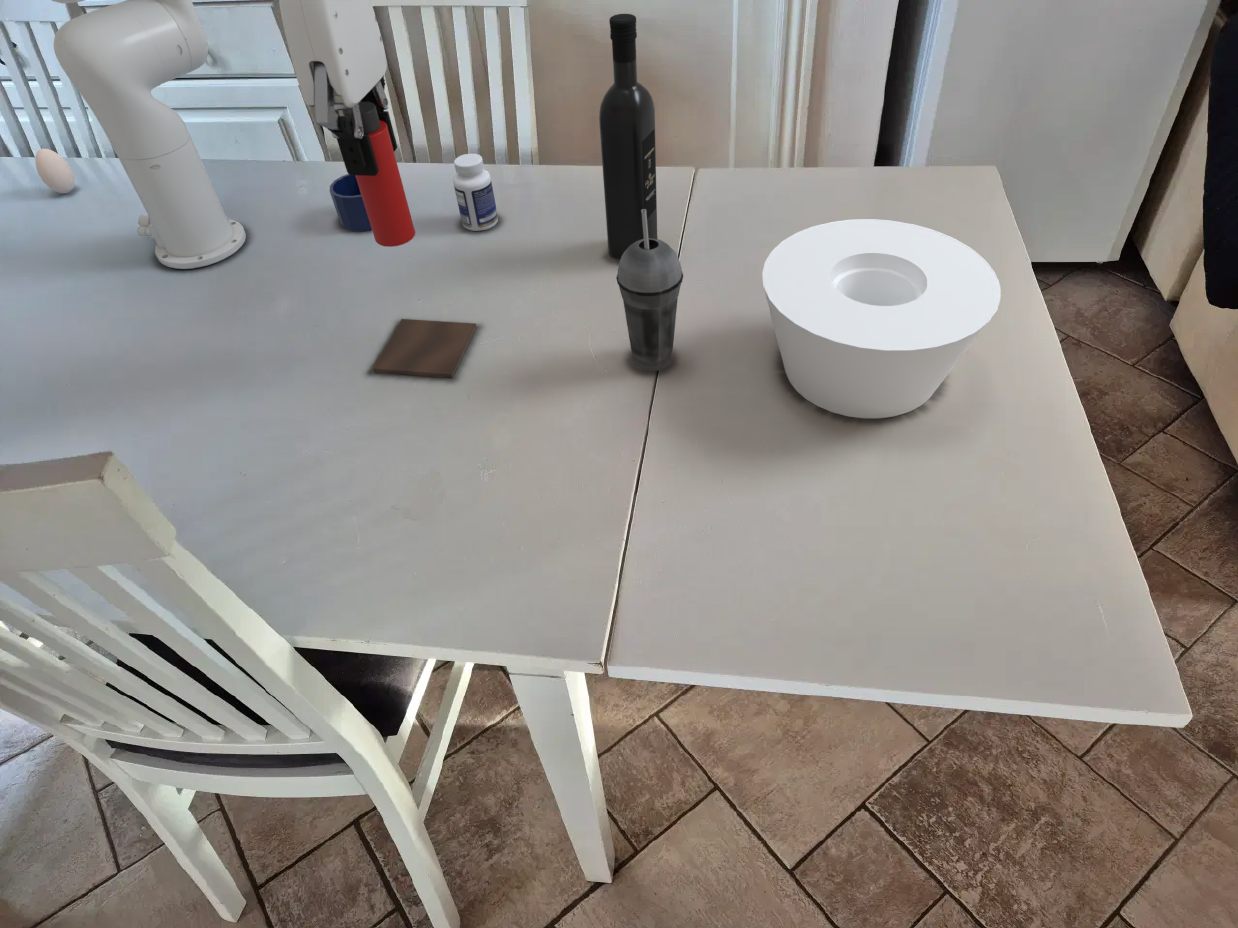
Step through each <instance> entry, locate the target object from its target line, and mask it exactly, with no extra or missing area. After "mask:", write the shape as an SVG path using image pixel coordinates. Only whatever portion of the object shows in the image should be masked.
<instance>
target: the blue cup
mask: <svg viewBox="0 0 1238 928" xmlns="http://www.w3.org/2000/svg"><path fill="white" fill-rule="evenodd" d="M329 194H330V197H331V199H332V202H333V206H334V209H335V212H336V215H337V218H338V220H339V223H340V225H341V226H342V228H344V229H345V230H347V231H351V232H369V231H372V228H371V225H370V222H369V218H368V215H367V212H366V209H365V205H364V202H363V199H362V196H361V192H360V189H359V186H358V182H357V179H356V176H355V175H350V174H348V173H347V174H344V175H341V176H340V177H338V178H336V179H335V180H333V181H332V183H331V184H329Z"/></svg>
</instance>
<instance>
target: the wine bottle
mask: <svg viewBox="0 0 1238 928" xmlns="http://www.w3.org/2000/svg"><path fill="white" fill-rule="evenodd" d="M608 23H609V29H610V31H609V32H610V34H609V37H610V40H611V48H612V49H611V50H612V69H613V70H612V71H613V84H612V85H610V87H609V88H608V89H607V91H606V92H605V94H604V95H603V98H602V100H601V103H600V107H599V108H600V109H599V114H598V121H599V123H598V124H599V132H600V133H599V137H600V149H601V151H600V152H601V161H602V162H601V164H602V178H603V180H602V181H603V192H604V193H603V194H604V206H605V221H606V222H605V223H606V237H607V250H608V251H607V252H608V256H609V257H610V258H611V259H614V260H618V261H620V260H621V257H622V255H623V253H624V252H625V251H626V250H627V248H628V247H629V246H630V245H632V244H633V243H635V242H637V241H639V240H642V239H644V236H643V223H642V211H641V210H642V209H646V214H647V226H648V238H653V239H658V207H657V206H658V205H657V161H656V160H657V155H656V153H657V152H656V150H657V149H656V109H655V102H654V99H653V96H652V95H651V92H649V90H648V88H646V87H645V86H644V85H643V84H642V83H640V82H639V81H638V69H637V68H638V67H637V41H636V39H637V37H638V33H637V17H636V15H634V14H632V13H618V14H614V15H612V16H610V18H609V22H608Z"/></svg>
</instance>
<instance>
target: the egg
mask: <svg viewBox="0 0 1238 928" xmlns="http://www.w3.org/2000/svg"><path fill="white" fill-rule="evenodd" d="M34 161H35V162H34V163H35V168H36V171H37V174H38V176H39V179H40V180H41V181H42V182H43V183H44V184H45V185H46V186H47V187H48V188H49V189H50V190H52V191H53V192H55V193H59V194H63V195H64V194H69V193H71V192H72V191H73V190H74V187H75V183H76V181H75V174H74V172H73V169H72V167H71V166H70V165H69V163H68V162H67V161H66V159H64V158H63V157H62V156H61V155H60V154H59V153H57V152H56V151H54V150H52V149H49V148H40V149H39V150H38V151H36V154H35V157H34Z"/></svg>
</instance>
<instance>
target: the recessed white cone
mask: <svg viewBox="0 0 1238 928" xmlns="http://www.w3.org/2000/svg"><path fill="white" fill-rule="evenodd" d="M761 276H762V285H763V290H764V292H765V297H766V302H767V306H768V310H769V313H770V317H771V321H772V325H773V329H774V333H775V337H776V341H777V345H778V348H779V353H780V357H781V360H782V364H783V368H784V372H785V374H786V377H787V380H788V381H789V383H790V384H791V386H792V387H793V388H794V390H795V391H796V392H797V393H798V394H799V395H800V396H802V397H803V398H804V399H805V400H807V401H808V402H810V403H812V404H813V405H814V406H817V407H819V408H821V409H824V410H826V411H828V412H830V413H834V414H836V415H837V414H838V415H841V416H844V417H851V418H857V419H885V418H892V417H893V418H894V417H897V416H900V415H904V414H908V413H910V412H912V411H914V410H915V409H918V408H919V407H921V406H922V405H924V404H925V403H926V402H927V401H929V400H930V398H931V397H932V396H933V394H934V393H935V392H936V391H937V389H938V388H939V387H940V386H941V384H942V383H943V381H945V379H946V378H947V376H948V375H949V374H950V372H952V370H953V369H954V367H955V366H956V365H957V364H958V362H959V361H960V360H961V358H963V356H964V354H965V353H966V352H967V350H968V349H969V348H970V347H971V345H972V344H973V343H974V342H975V340H976V339H977V338H978V336H979V335H980V334H981V333H982V331H983V330H984V329H985V328H986V327H987V325H988V324H989V323H990V321H991V319H992V318H993V317H994V315H995V314H996V312H997V311H998V310H999V305H1000V302H1001V300H1002V291H1001V283H1000V281H999V279H998V276H997V274H996V272H995V270H994V269H993V267H991V265H990V264H989V263H988V262H987V260H986V259H985V258H984V257H983V256H981V255H980V254H979V253H978V252H977V251H976V250H974V249H973V248H972V247H970V246H969V245H967V244H966V243H963V242H961V241H960V240H958V239H956V238H955V237H952V236H950V235H947V234H945V233H942V232H940V231H938V230H936V229H932V228H928V227H925V226H922V225H917V224H914V223H908V222H903V221H897V220H889V219H888V220H887V219H875V218H860V219H859V218H857V219H856V218H854V219H844V220H835V221H830V222H825V223H821V224H817V225H813V226H810V227H807V228H805V229H802V230H800V231H797V232H795V233H794V234H791V235H790V236H789V237H787V238H785V239H783V240H782V241H781V242H780V243H778V244H777V245H776V246H775V247H774V248H773V249H772V250H771V252H770V253H769V254H768V256H767V258H766V259H765V261H764V264H763V269H762V274H761Z"/></svg>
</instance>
